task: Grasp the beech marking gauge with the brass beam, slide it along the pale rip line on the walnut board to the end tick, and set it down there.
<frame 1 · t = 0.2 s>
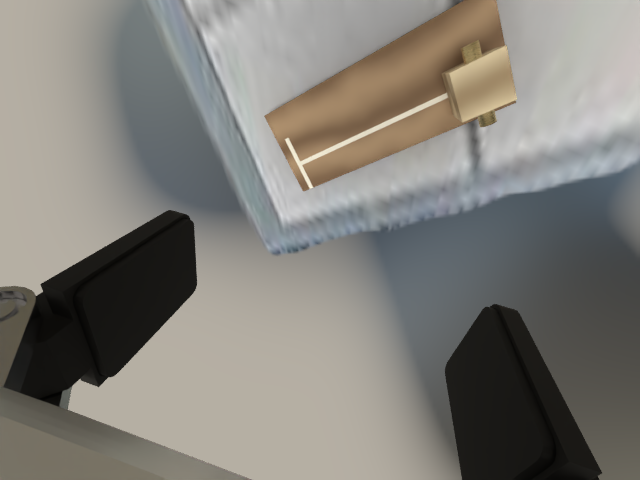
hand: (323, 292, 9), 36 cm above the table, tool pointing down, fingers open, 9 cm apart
marking gauge: (470, 84, 33), point 3 cm above the table, touching board
board: (378, 108, 39), on the table
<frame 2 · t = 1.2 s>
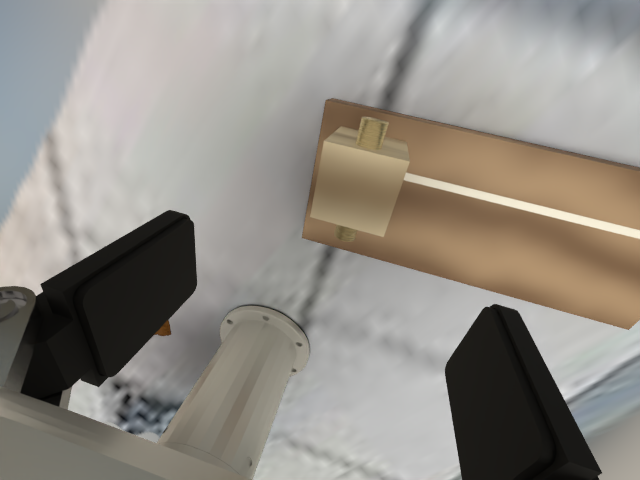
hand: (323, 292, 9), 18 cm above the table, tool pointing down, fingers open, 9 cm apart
marking gauge: (364, 166, 23), point 3 cm above the table, touching board
board: (480, 210, 25), on the table
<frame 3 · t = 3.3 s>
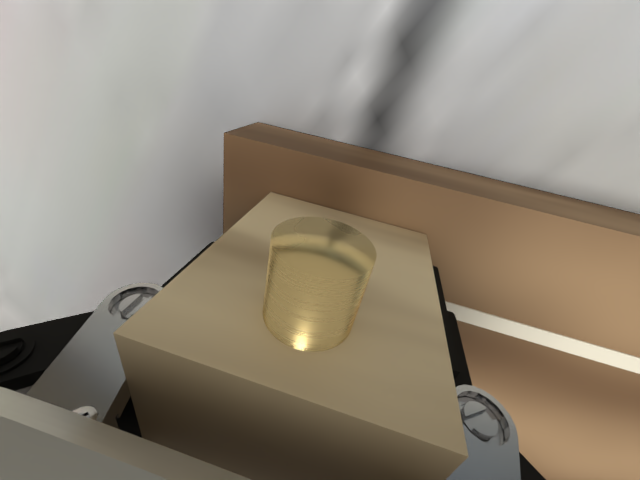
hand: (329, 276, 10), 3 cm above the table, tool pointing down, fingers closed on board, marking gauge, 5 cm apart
marking gauge: (330, 275, 10), point 3 cm above the table, touching gripper
board: (564, 344, 12), on the table
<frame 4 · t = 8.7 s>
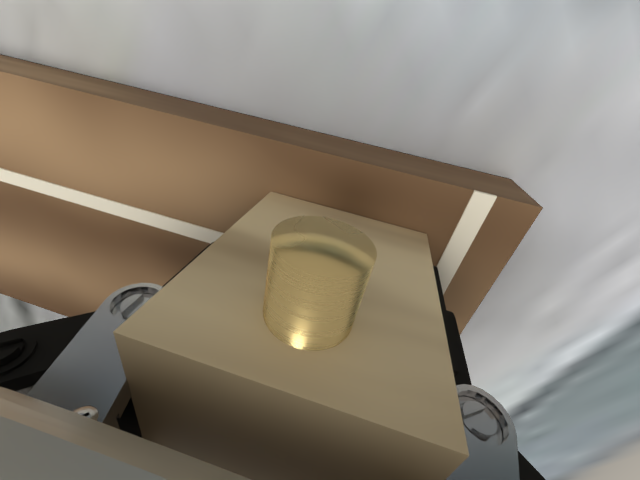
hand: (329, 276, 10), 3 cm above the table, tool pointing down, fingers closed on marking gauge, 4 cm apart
marking gauge: (330, 274, 10), point 3 cm above the table, touching gripper
board: (149, 220, 14), on the table
when the fingers open (3 cm above the table, at t = 9.0 s): marking gauge stays where it is, resting on board.
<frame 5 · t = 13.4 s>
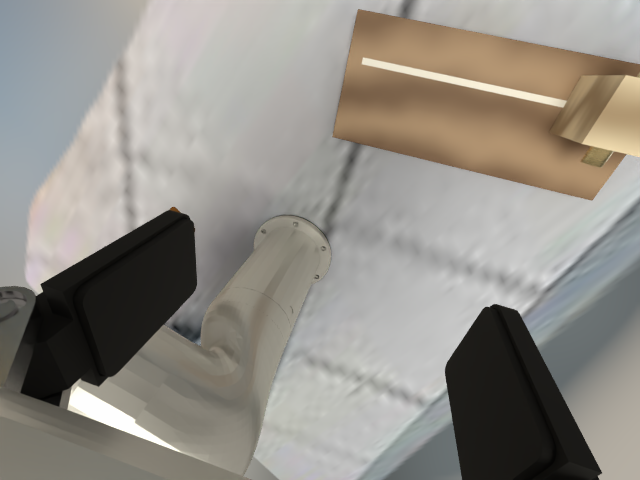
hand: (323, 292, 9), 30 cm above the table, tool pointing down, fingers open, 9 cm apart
marking gauge: (592, 111, 27), point 3 cm above the table, touching board
board: (475, 108, 31), on the table
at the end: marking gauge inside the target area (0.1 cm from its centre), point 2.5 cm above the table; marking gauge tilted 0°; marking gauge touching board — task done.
